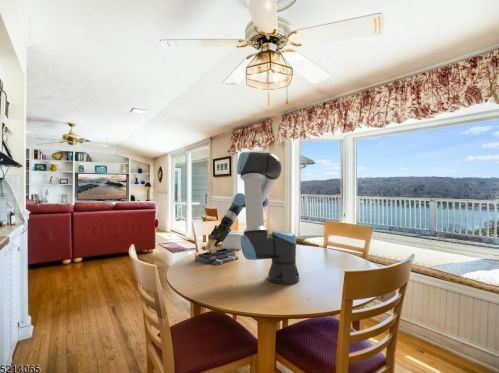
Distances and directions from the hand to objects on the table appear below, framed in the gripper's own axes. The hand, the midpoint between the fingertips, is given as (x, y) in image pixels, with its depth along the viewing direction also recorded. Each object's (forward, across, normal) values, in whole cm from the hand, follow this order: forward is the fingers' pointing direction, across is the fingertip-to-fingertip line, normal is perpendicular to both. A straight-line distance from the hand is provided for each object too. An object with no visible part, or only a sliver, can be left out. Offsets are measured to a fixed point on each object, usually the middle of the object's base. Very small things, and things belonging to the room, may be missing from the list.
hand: (208, 249), depth 168 cm
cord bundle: (+1, -8, -9) cm, 12 cm away
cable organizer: (-19, +12, -29) cm, 37 cm away
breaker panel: (+1, 0, -9) cm, 9 cm away
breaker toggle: (0, 0, -4) cm, 4 cm away
